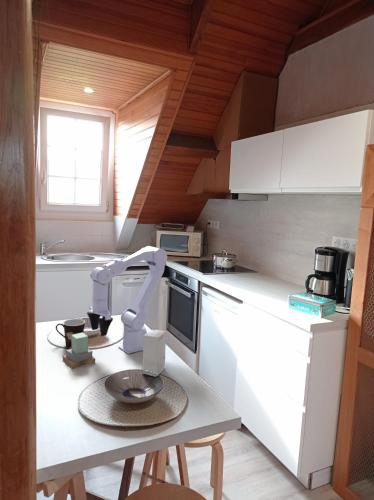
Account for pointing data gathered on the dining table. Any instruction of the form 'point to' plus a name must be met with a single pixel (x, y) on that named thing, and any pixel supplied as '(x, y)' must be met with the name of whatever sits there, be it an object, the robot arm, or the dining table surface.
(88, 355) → the grey square slab
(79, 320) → the coffee mug
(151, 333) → the skincare box
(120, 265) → the robot arm
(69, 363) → the tan square slab
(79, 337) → the green column
